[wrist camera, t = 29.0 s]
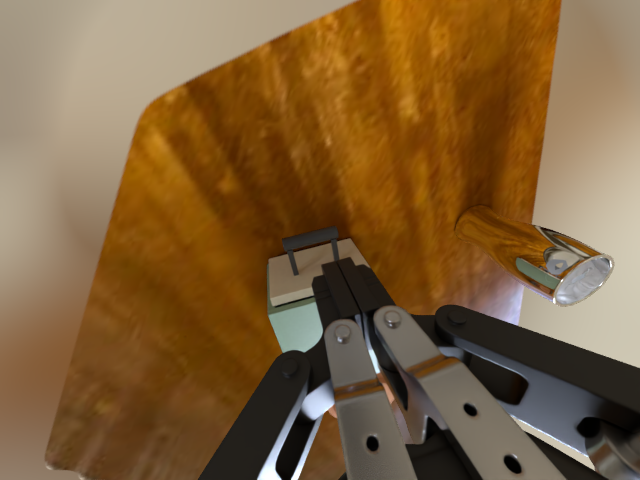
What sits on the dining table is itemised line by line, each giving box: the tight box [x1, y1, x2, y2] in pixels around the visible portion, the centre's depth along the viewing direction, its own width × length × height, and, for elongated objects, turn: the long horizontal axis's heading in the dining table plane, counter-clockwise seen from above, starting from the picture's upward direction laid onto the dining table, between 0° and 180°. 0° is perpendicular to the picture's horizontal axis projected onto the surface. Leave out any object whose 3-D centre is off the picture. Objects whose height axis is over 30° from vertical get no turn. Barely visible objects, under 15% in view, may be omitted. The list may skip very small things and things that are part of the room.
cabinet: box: [267, 244, 381, 374], centre depth 34 cm, size 17×13×10 cm
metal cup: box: [455, 205, 614, 307], centre depth 31 cm, size 7×7×15 cm
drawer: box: [269, 226, 370, 306], centre depth 31 cm, size 20×11×8 cm, turn 10°
